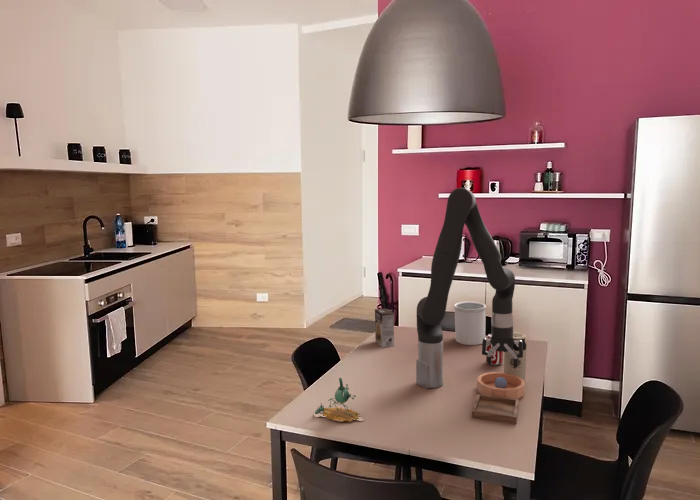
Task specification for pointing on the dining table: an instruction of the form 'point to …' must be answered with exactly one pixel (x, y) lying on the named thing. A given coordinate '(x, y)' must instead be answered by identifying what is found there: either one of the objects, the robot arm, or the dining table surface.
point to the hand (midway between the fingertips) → (502, 366)
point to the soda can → (496, 356)
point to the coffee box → (384, 327)
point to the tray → (495, 408)
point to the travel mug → (521, 366)
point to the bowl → (511, 391)
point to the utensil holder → (470, 322)
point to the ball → (501, 382)
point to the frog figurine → (337, 412)
